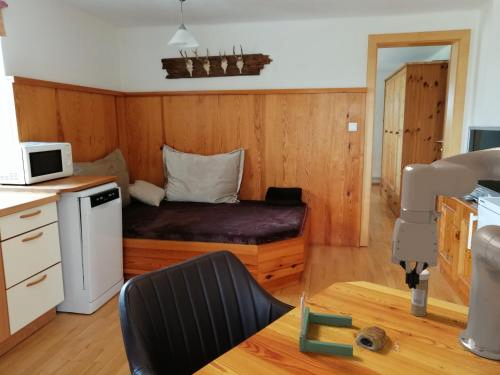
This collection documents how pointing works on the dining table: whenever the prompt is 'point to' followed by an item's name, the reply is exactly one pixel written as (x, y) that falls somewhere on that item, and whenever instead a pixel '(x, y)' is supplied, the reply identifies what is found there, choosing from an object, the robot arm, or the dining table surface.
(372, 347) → the pastry
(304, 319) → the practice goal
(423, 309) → the sprinkles bottle
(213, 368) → the dining table surface
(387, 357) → the dining table surface
